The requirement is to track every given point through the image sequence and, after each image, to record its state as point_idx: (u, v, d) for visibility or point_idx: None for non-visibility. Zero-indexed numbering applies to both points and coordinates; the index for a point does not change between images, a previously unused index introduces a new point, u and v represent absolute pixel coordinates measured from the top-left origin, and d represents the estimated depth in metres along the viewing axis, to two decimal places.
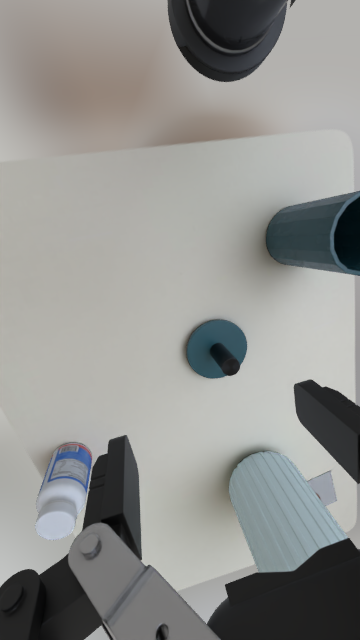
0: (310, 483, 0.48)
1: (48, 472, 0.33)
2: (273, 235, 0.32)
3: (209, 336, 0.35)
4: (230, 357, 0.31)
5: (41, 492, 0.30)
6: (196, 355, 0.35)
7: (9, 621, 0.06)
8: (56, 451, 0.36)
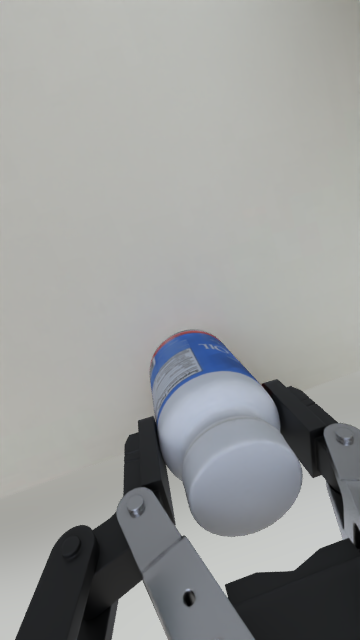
0: None
1: None
2: None
3: None
4: None
5: None
6: None
7: (68, 566, 0.07)
8: None
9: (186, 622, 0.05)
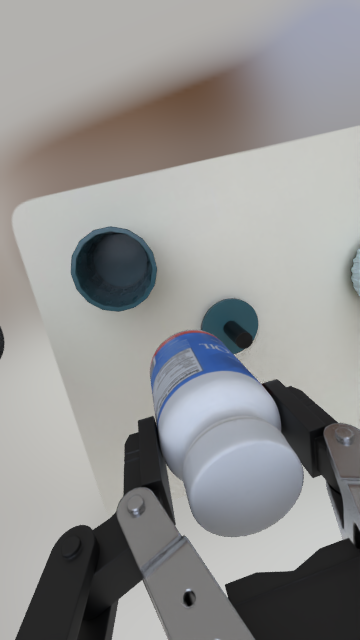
0: None
1: None
2: None
3: (216, 336, 0.38)
4: (234, 340, 0.34)
5: None
6: (233, 346, 0.39)
7: (68, 566, 0.07)
8: None
9: (186, 622, 0.05)
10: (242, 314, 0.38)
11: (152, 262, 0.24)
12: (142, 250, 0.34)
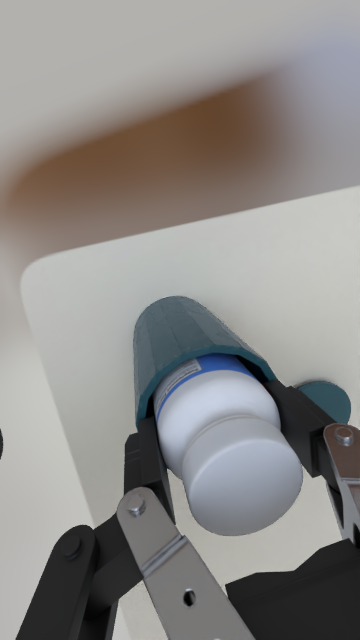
0: None
1: None
2: None
3: None
4: None
5: None
6: None
7: (68, 566, 0.07)
8: None
9: (186, 621, 0.05)
10: (332, 402, 0.28)
11: None
12: None
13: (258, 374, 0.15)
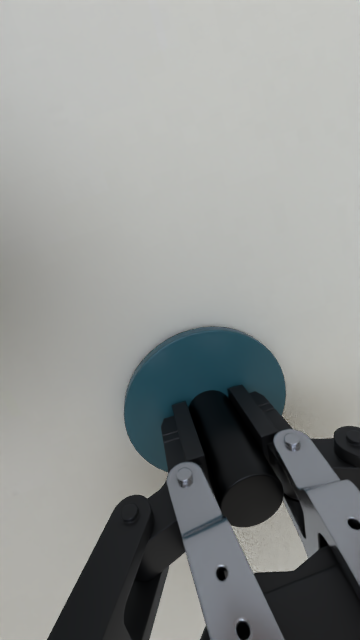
0: None
1: None
2: None
3: None
4: (216, 495, 0.09)
5: None
6: None
7: (125, 529, 0.07)
8: None
9: (216, 593, 0.05)
10: (242, 372, 0.13)
11: None
12: None
13: None
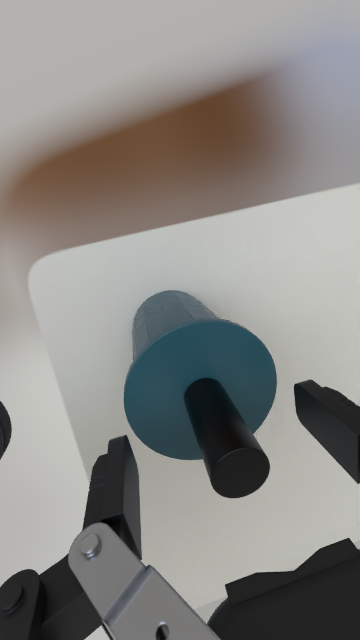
0: None
1: None
2: None
3: (165, 420, 0.14)
4: (207, 469, 0.10)
5: None
6: None
7: (9, 620, 0.06)
8: None
9: None
10: (235, 360, 0.14)
11: None
12: None
13: None
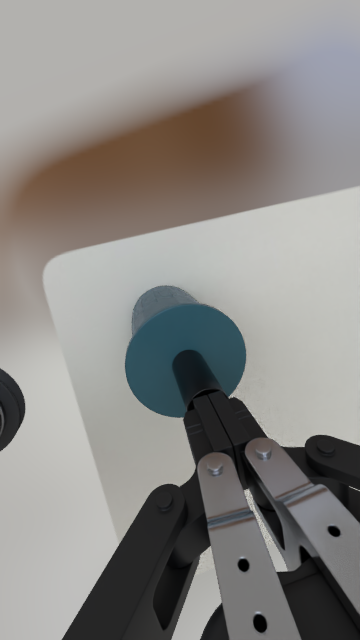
0: None
1: None
2: None
3: (157, 383, 0.18)
4: (185, 405, 0.13)
5: None
6: None
7: (159, 516, 0.08)
8: None
9: (236, 582, 0.05)
10: (212, 336, 0.18)
11: None
12: None
13: None
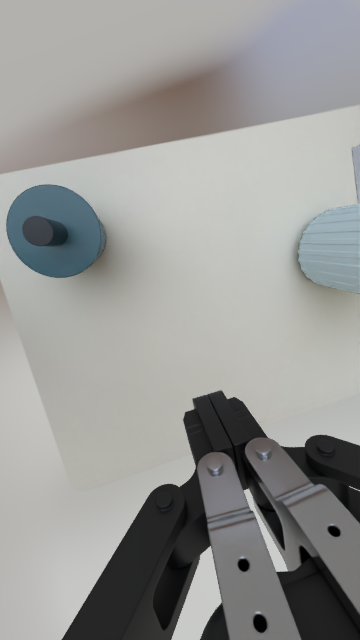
0: None
1: None
2: None
3: (33, 246, 0.25)
4: (24, 231, 0.20)
5: None
6: (64, 264, 0.26)
7: (159, 516, 0.08)
8: None
9: (236, 582, 0.05)
10: (71, 211, 0.25)
11: None
12: None
13: None
